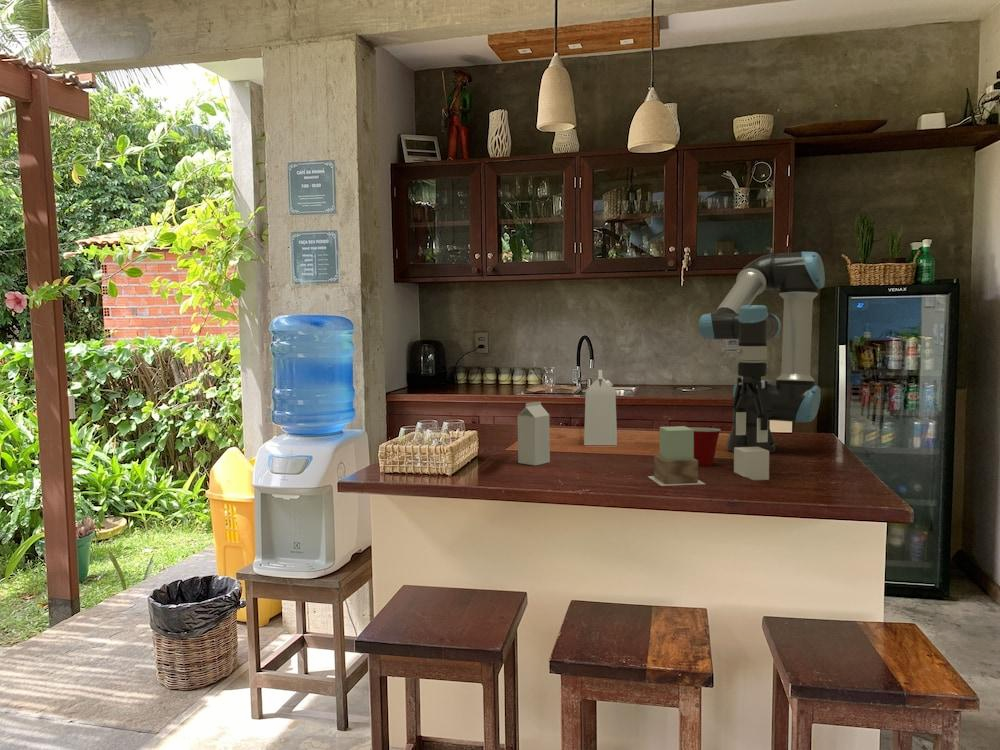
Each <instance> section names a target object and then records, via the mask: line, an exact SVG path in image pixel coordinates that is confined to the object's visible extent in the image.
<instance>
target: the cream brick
mask: <svg viewBox="0 0 1000 750" xmlns="http://www.w3.org/2000/svg"><path fill="white" fill-rule="evenodd" d="M733 473H735V474H738V475H739V476H742V477H743V478H747V479H750V480H751V481H769V480H770V453H769V451H768V450H765V449H763V448H760V447H735V448H734V452H733Z"/></svg>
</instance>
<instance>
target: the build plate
mask: <svg viewBox="0 0 1000 750" xmlns="http://www.w3.org/2000/svg"><path fill="white" fill-rule="evenodd" d="M647 478H649V479H650V480H652V481H653V482H655V483H656V484H657V485H659V486H661V487H667V486H668V487H669V486H671V487H673V486H688V485H690V486H691V485H706V483H705V482H703V481H701V480H700V479H698V483H684V484H664V483H662V482H661V481H659V480H658V479H656V478H655V477H654V475H650V476H647Z"/></svg>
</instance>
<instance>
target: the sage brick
mask: <svg viewBox="0 0 1000 750" xmlns="http://www.w3.org/2000/svg"><path fill="white" fill-rule="evenodd" d="M690 428H691V427H688V426H685V425H682V426H681V425H679V426H659V455H660V457H662V458H664V459H666V460H667V461H677V460H694V430H693V429H690Z"/></svg>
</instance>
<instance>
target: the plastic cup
mask: <svg viewBox="0 0 1000 750" xmlns="http://www.w3.org/2000/svg"><path fill="white" fill-rule="evenodd" d="M689 428H690V429H693V430H694V459H696V460H698V467H711V466H714V464H713V463H714V458H715V454H716V450H717V443H718V440H719V437H720V433H721V431H722V429H721V428H717V427H689Z"/></svg>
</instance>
